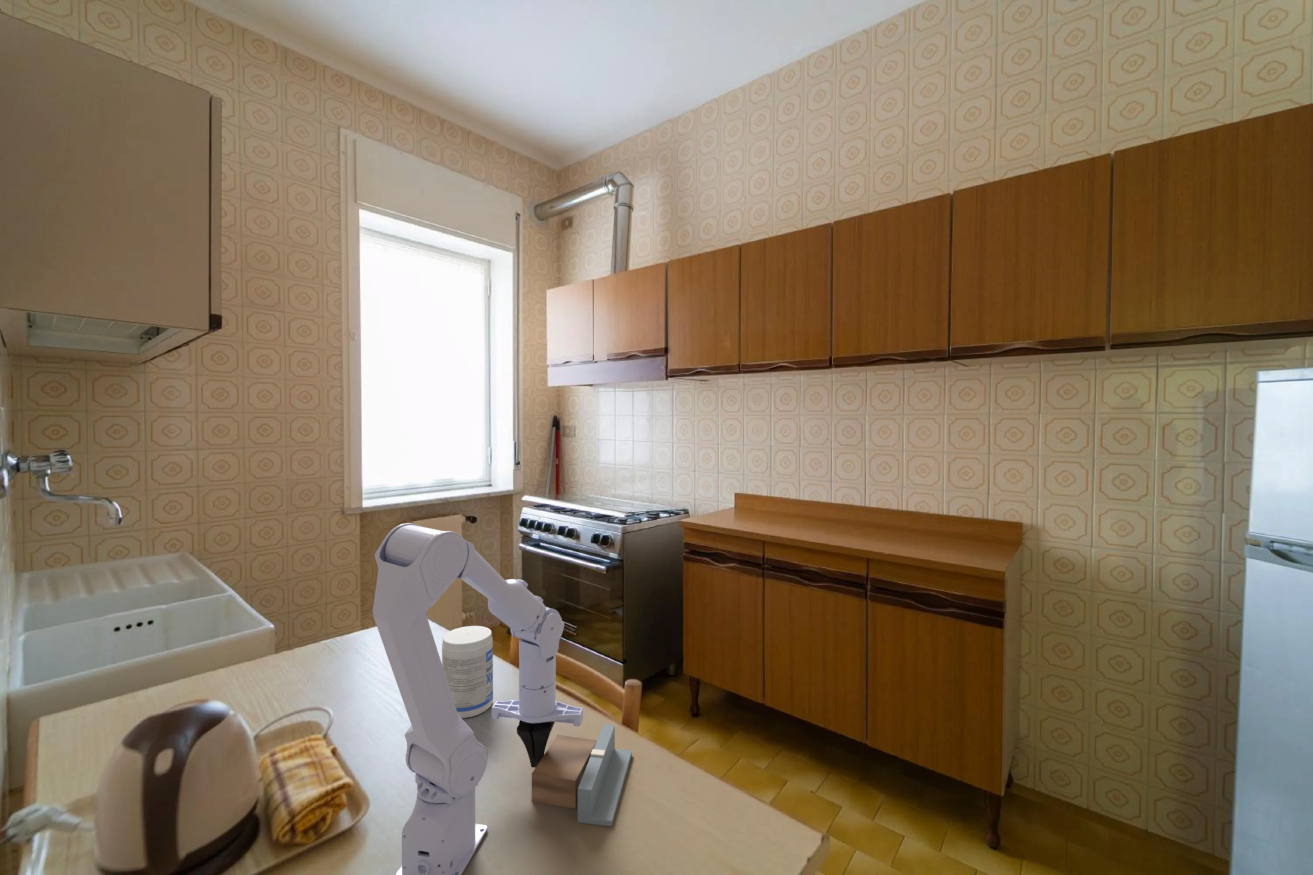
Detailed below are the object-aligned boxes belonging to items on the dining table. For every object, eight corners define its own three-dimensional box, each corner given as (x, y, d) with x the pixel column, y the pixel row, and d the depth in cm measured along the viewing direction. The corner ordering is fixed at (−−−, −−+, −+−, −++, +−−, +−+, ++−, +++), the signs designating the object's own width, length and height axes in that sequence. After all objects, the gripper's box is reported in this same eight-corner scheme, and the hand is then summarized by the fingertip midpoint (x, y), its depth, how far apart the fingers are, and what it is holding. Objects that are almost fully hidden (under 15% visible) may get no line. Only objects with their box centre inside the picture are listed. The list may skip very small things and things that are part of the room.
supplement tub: (499, 711, 104) (499, 637, 103) (448, 726, 99) (448, 648, 98) (485, 689, 112) (485, 621, 111) (437, 702, 107) (437, 630, 106)
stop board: (611, 826, 75) (611, 789, 75) (577, 822, 76) (577, 786, 75) (631, 754, 91) (632, 724, 90) (603, 752, 91) (603, 722, 91)
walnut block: (575, 810, 78) (575, 780, 78) (531, 802, 80) (531, 773, 79) (596, 766, 88) (596, 740, 88) (557, 760, 89) (557, 734, 89)
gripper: (588, 671, 87) (587, 751, 88) (504, 665, 89) (504, 743, 89) (576, 693, 80) (575, 780, 81) (485, 686, 82) (485, 771, 82)
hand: (537, 763), depth 85 cm, fingers closed
